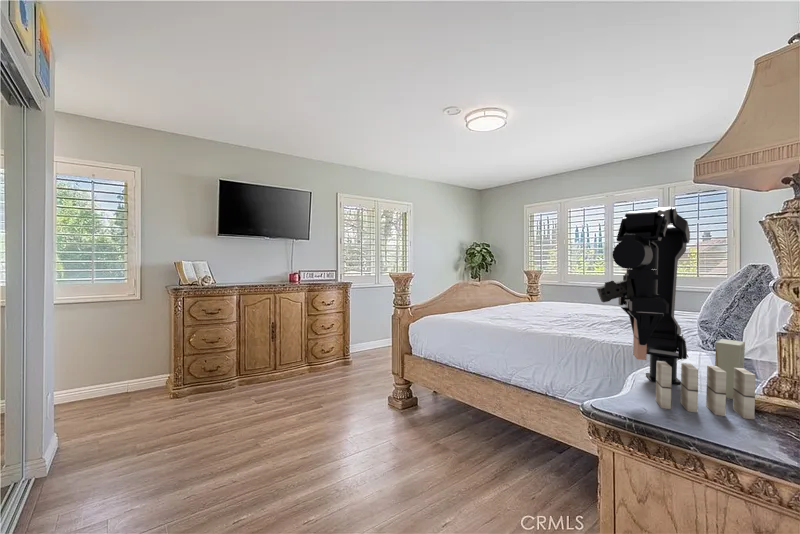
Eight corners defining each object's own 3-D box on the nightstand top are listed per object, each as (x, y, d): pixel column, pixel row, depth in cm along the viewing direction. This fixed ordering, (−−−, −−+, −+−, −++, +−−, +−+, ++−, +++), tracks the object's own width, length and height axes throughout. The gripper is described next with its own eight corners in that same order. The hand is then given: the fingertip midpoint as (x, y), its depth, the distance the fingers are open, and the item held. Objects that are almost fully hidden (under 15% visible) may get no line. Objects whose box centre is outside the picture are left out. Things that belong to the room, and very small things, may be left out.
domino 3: (732, 409, 81) (733, 367, 81) (742, 410, 81) (743, 368, 81) (743, 418, 77) (744, 373, 77) (754, 419, 76) (755, 374, 76)
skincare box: (719, 390, 94) (720, 338, 94) (744, 395, 91) (745, 341, 90) (713, 395, 90) (714, 341, 90) (739, 401, 86) (740, 344, 86)
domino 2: (680, 403, 85) (681, 362, 85) (689, 404, 84) (690, 363, 84) (687, 411, 80) (688, 368, 80) (697, 412, 79) (698, 369, 79)
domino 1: (632, 354, 88) (633, 315, 88) (641, 355, 88) (642, 316, 88) (637, 359, 83) (638, 318, 83) (646, 360, 83) (647, 318, 83)
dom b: (655, 400, 86) (656, 360, 86) (664, 401, 86) (665, 361, 86) (661, 407, 82) (662, 366, 81) (670, 409, 81) (671, 367, 81)
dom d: (706, 406, 83) (707, 365, 83) (715, 407, 82) (716, 366, 82) (715, 414, 78) (716, 371, 78) (725, 415, 78) (726, 372, 78)
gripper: (595, 268, 97) (594, 333, 97) (604, 268, 80) (602, 346, 80) (649, 270, 93) (647, 337, 93) (670, 269, 76) (668, 352, 76)
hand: (639, 342), depth 85 cm, fingers closed on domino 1, 5 cm apart
